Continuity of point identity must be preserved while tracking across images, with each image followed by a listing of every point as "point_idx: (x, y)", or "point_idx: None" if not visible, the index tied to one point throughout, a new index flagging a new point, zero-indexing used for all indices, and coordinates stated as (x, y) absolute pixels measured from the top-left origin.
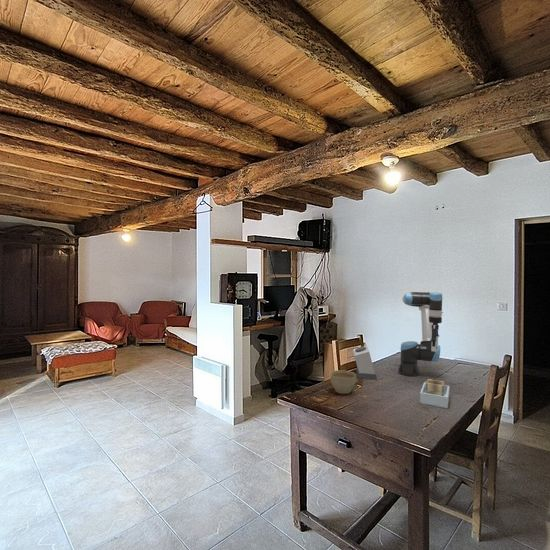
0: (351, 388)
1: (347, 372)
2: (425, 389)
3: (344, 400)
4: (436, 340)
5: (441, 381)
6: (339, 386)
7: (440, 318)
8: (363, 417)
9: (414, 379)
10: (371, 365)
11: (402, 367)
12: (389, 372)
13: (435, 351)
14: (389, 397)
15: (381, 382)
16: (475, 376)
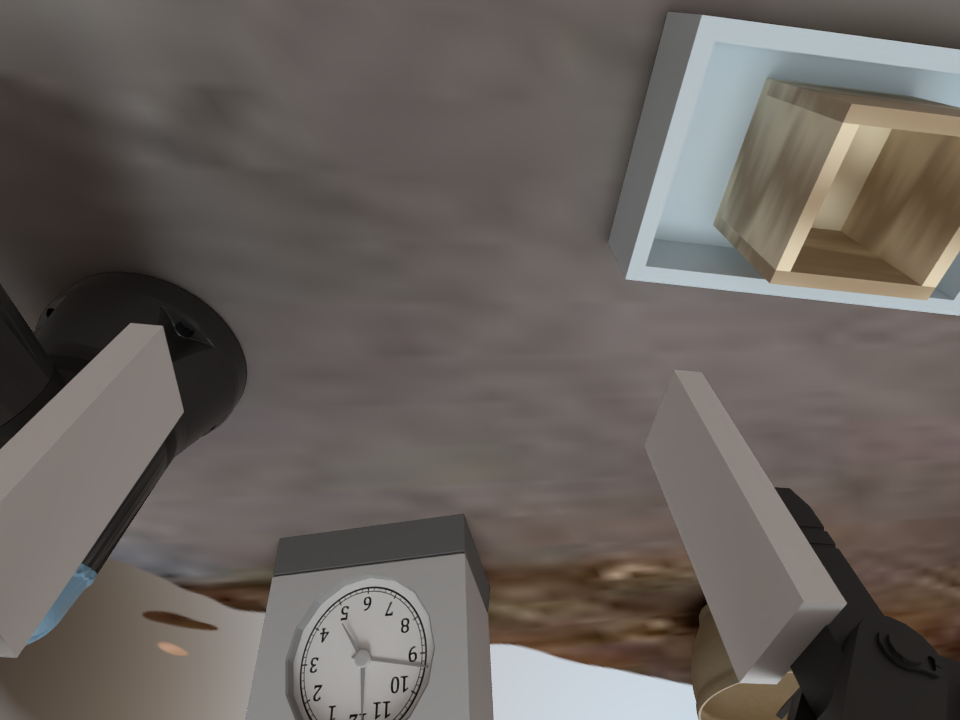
0: None
1: (705, 693)
2: (656, 245)
3: (872, 593)
4: (70, 478)
5: (849, 138)
6: None
7: None
8: None
9: (303, 311)
10: (469, 626)
11: (201, 435)
12: (238, 467)
13: (698, 383)
14: (800, 441)
15: (509, 492)
16: None
